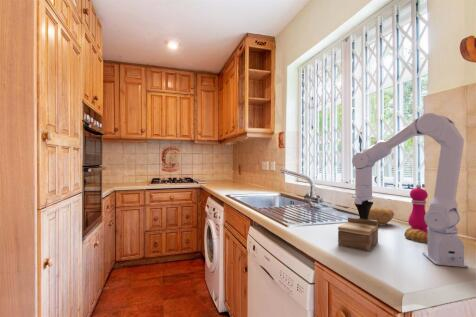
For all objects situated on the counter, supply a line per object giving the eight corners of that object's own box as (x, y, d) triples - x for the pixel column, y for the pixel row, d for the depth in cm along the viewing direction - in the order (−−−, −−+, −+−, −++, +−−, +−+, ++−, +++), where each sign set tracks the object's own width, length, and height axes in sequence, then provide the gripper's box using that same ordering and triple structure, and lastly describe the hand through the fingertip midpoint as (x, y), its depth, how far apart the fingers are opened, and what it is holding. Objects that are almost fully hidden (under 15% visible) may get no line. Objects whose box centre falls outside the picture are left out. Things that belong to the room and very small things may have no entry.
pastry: (439, 242, 96) (439, 232, 96) (427, 245, 93) (427, 234, 93) (413, 236, 104) (413, 226, 104) (402, 238, 102) (401, 228, 102)
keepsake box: (368, 251, 86) (368, 236, 86) (338, 245, 93) (338, 231, 93) (378, 242, 95) (377, 229, 95) (349, 237, 102) (349, 224, 102)
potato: (400, 226, 119) (400, 208, 119) (374, 228, 116) (374, 209, 116) (384, 221, 129) (384, 204, 129) (359, 222, 125) (359, 206, 126)
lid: (368, 235, 86) (368, 227, 86) (338, 230, 93) (338, 222, 93) (377, 228, 95) (377, 220, 95) (349, 224, 102) (349, 216, 102)
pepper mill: (420, 236, 103) (419, 185, 103) (404, 231, 110) (403, 183, 110) (434, 235, 105) (434, 184, 105) (417, 230, 112) (417, 183, 112)
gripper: (358, 182, 108) (358, 216, 107) (346, 185, 97) (346, 222, 97) (377, 183, 103) (377, 218, 103) (366, 186, 92) (367, 225, 92)
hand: (363, 220), depth 99 cm, fingers closed
